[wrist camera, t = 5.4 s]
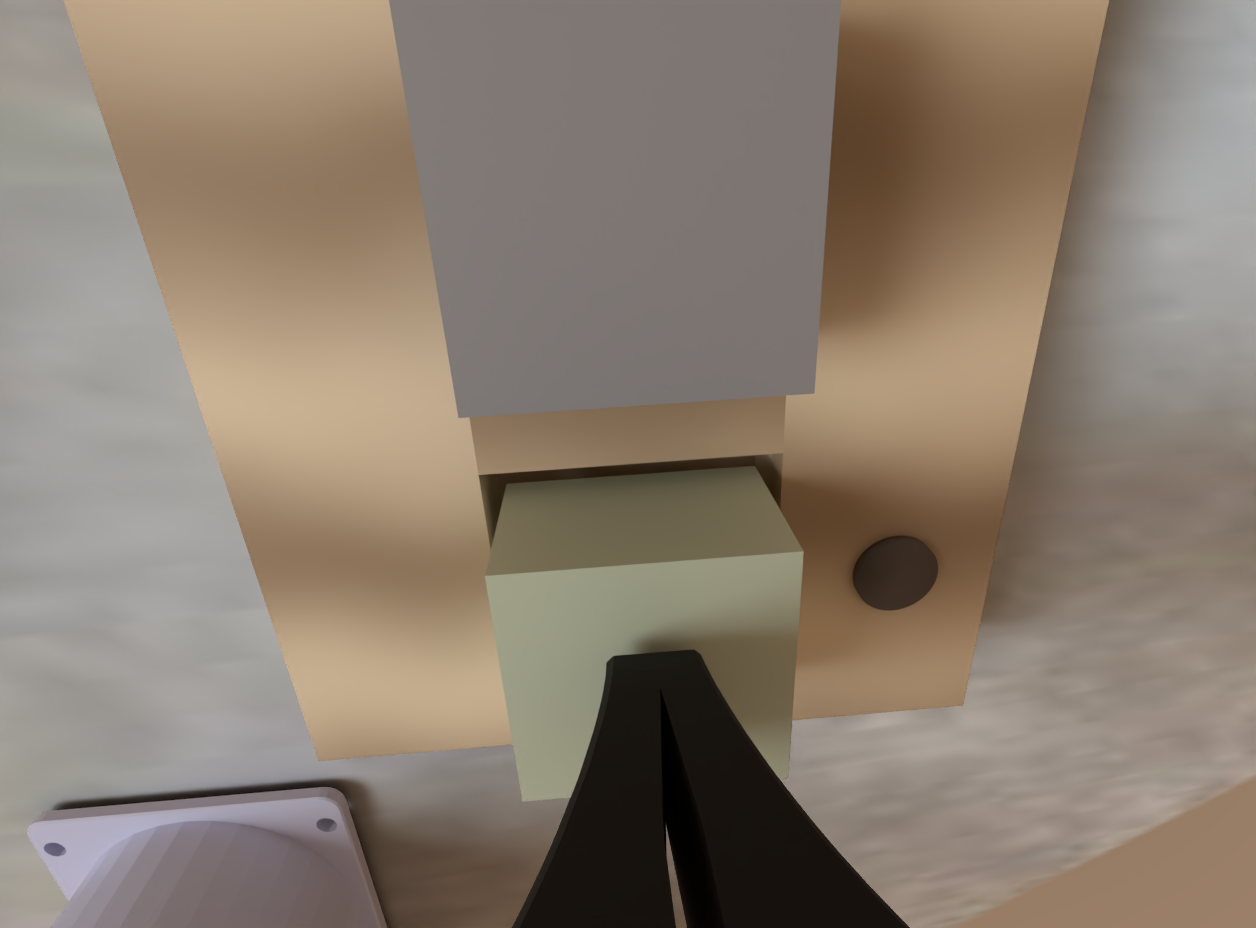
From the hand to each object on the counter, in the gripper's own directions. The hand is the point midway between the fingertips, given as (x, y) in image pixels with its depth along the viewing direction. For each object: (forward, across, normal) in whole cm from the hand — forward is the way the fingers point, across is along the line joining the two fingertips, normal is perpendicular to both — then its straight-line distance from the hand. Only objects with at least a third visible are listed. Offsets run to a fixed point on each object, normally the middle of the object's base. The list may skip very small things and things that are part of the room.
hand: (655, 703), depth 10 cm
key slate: (+3, 0, -7) cm, 8 cm away
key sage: (+3, 0, 0) cm, 3 cm away
